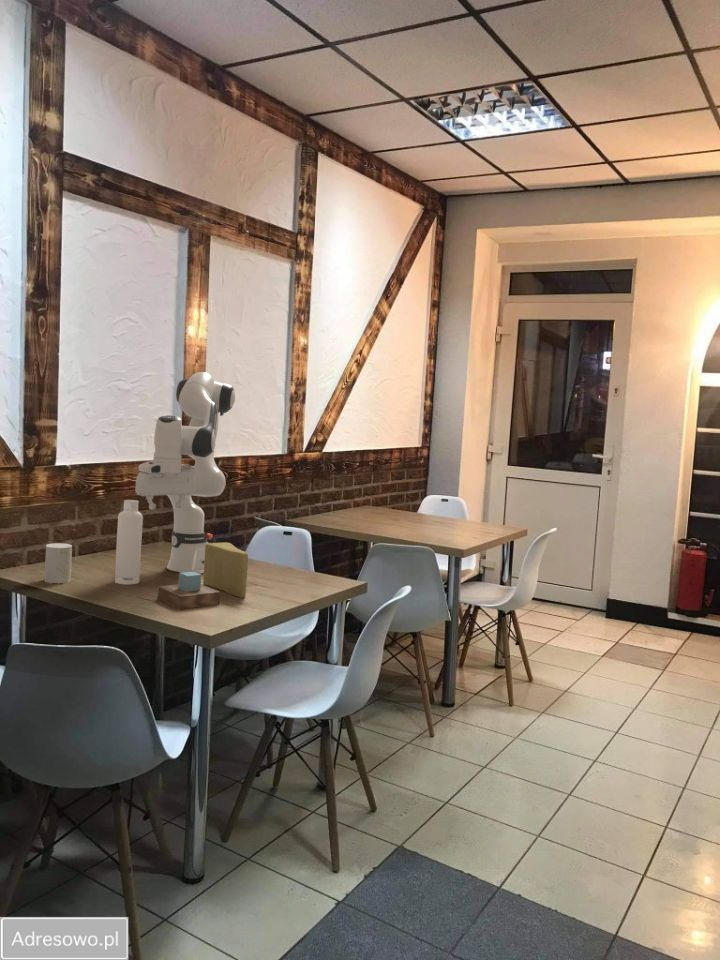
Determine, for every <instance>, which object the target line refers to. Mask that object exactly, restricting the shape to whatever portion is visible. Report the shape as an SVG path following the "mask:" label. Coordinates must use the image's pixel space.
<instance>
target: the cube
mask: <svg viewBox="0 0 720 960" xmlns="http://www.w3.org/2000/svg"><path fill="white" fill-rule="evenodd" d="M201 582H202V573H200V574H198V573H196V572H178V583H177V585H178V588H179V589H181V590H184V591H186V592H188V591H197V590H200V587H201V584H202V583H201Z"/></svg>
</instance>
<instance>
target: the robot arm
mask: <svg viewBox="0 0 720 960" xmlns="http://www.w3.org/2000/svg"><path fill="white" fill-rule="evenodd" d="M175 396H176V401H177V402H178V405H179V407H180V409H181V410H182V412H183V413H184V414H186V416H188V417H190V421H189V424H188V425H182V423H183V422H182V418H181V417H180V416H177V415H162V416H159V417H157V420H156V424H155V428H154V429H155V430H154V436H153V437H154V438H153V440H154V441H153V444H154V454H153V459H151V460H149V461H146V462H143V463H141V464H139V465H138V471H139V472H138V474H137V475H136V480H135V488H134V489H135V491H134V492H135V494H136V495H137V496H140V497H145V499H146V501H147V503H148V509H149V510H156V507H157V504H156V503H154V502H153V500H154V496H155V497H156V496H167V497H168V499H169V500H170V502H171V506H172V510H173V530H172V532H171V533H172V534H171V551H170V556H169V560H168V563H167V567H166V569H167V570H169V571H173V572H178V573H182V572H196V573H198V574H204V562H205V546H206V544H208V543H209V541H208V540H212V539H213V536H214V535H213V534H212V533H206V532H205V531H204V530H205V529H204V527H205V512H204V510H203V509H202V508H201V507H200V506H199V505H197V504H196V503H195V502H194V501H193V499H192V496H195V497H196V496H197V497H203V498H208V497H209V498H210V497H218V496H220V495H221V494H222V493H223V492H224V490H225V488H226V484H227V483H226V476H225V475H224V473H223V471H222V470H221V469H220V468H219V467H218V465H217V463H216V461H215V457H214V456H215V454H214V453H215V447H216V441H217V436H218V429H219V416H220V417H222V416H224V414H226V413H228V412H229V411H230V410H231V409H232V408H233V406H234V404H235V401H236V392H235V389H234V387H233V386H232V385H230V384H228V383H225V382H224V383H222V382H218V381H215V380H214V378H213V377H212V375H210V374H209V373H207V372H205V371H198V372H195V373H193V374H192V375H191V376H190V377H189V378H183V379H181V380H180V381H179V382H178V384H177V386H176V389H175ZM182 455H184V456H185V455H186V456H188V457H190V458H192V459H193V460H194V465H184V464H182V461H183V459H182Z"/></svg>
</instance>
